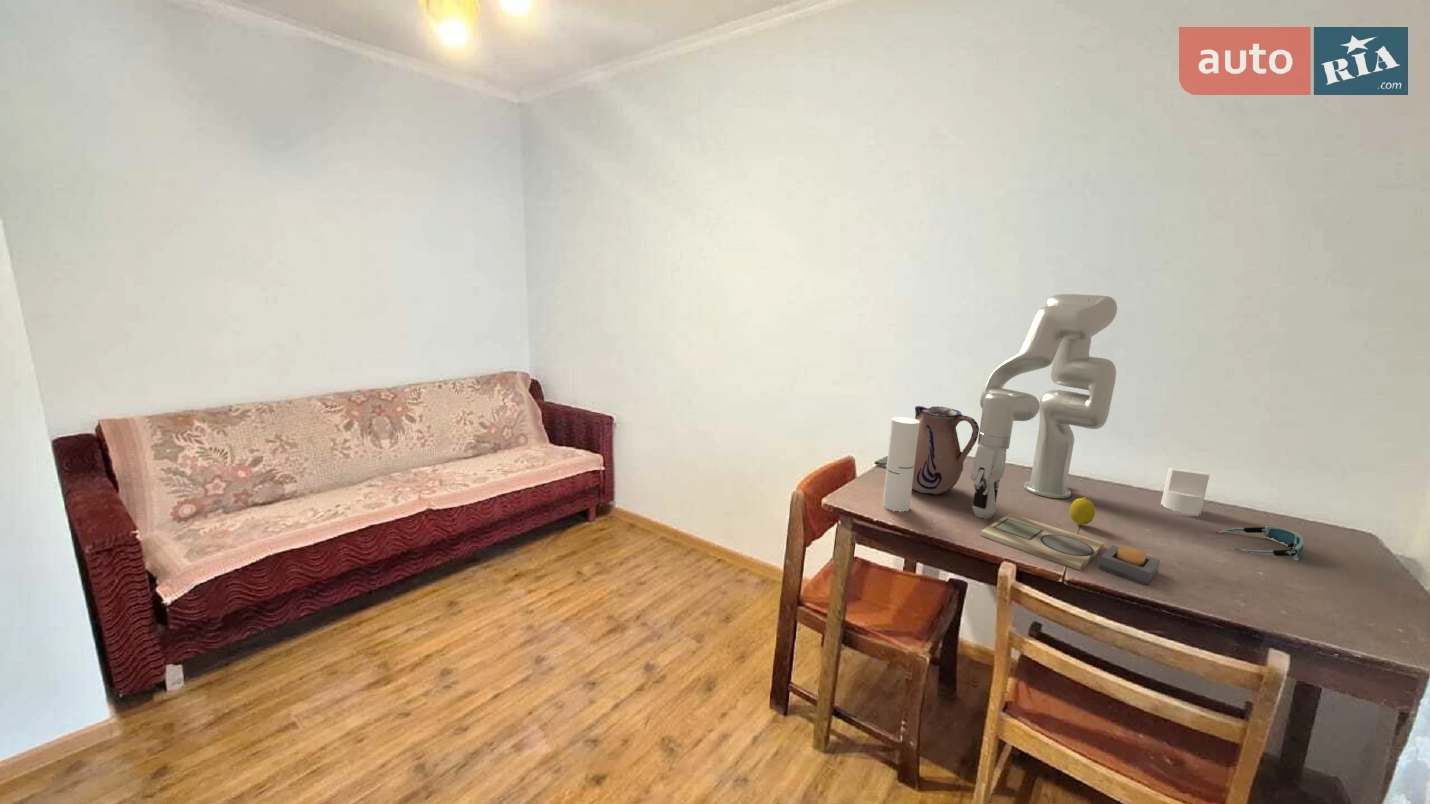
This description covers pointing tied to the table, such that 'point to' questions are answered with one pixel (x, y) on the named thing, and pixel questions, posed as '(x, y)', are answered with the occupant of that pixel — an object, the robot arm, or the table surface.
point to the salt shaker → (990, 505)
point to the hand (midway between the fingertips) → (984, 503)
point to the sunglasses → (1280, 535)
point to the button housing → (1129, 567)
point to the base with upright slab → (1185, 490)
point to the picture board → (1043, 540)
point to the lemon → (1082, 511)
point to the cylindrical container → (900, 463)
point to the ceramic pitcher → (939, 449)
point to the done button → (1131, 555)
